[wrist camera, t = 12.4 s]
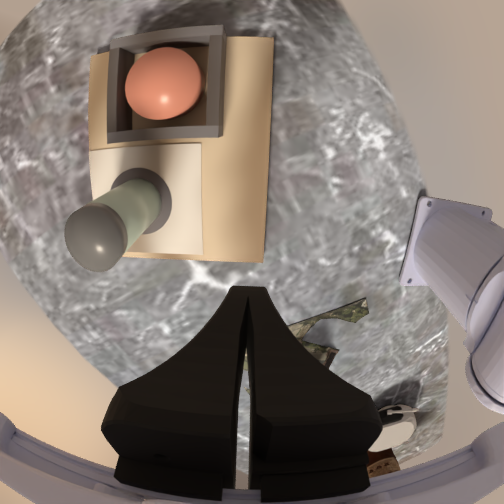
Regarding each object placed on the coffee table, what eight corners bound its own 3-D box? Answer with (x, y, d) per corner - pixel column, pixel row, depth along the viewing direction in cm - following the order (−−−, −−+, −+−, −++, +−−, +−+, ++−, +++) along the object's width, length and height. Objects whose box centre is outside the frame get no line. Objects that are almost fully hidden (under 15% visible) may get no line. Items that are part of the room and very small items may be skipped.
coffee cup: (353, 448, 37) (366, 510, 26) (398, 434, 37) (416, 494, 25) (351, 463, 41) (361, 517, 29) (390, 451, 40) (404, 503, 29)
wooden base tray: (273, 40, 15) (276, 25, 12) (262, 257, 22) (263, 280, 19) (96, 57, 15) (72, 51, 12) (106, 251, 22) (88, 270, 19)
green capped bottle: (160, 177, 18) (114, 207, 12) (163, 225, 20) (125, 274, 13) (115, 179, 18) (59, 209, 12) (120, 224, 20) (72, 270, 13)
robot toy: (319, 444, 38) (407, 423, 35) (320, 467, 34) (412, 445, 31) (306, 413, 33) (414, 385, 30) (307, 441, 29) (423, 412, 26)
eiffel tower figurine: (365, 291, 24) (426, 415, 12) (378, 359, 28) (416, 460, 16) (214, 343, 27) (195, 470, 15) (255, 398, 31) (254, 500, 19)
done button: (206, 51, 14) (200, 43, 13) (203, 118, 16) (197, 117, 15) (139, 58, 14) (127, 53, 13) (137, 122, 16) (124, 122, 15)
